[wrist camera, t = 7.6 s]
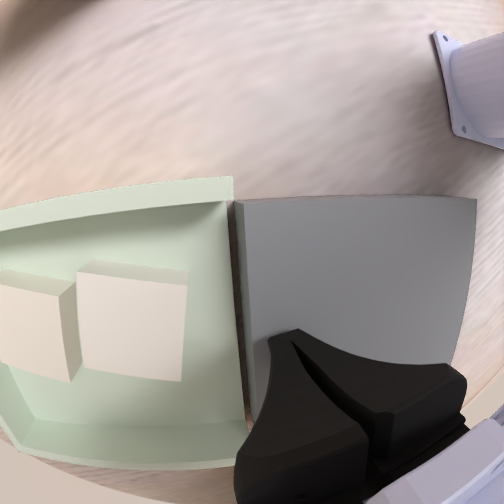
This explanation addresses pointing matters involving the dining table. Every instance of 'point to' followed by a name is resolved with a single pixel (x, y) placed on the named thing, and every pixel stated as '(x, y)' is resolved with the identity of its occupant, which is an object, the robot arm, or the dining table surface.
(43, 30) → the dining table surface
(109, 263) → the tile
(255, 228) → the board
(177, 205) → the tray
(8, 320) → the tile
